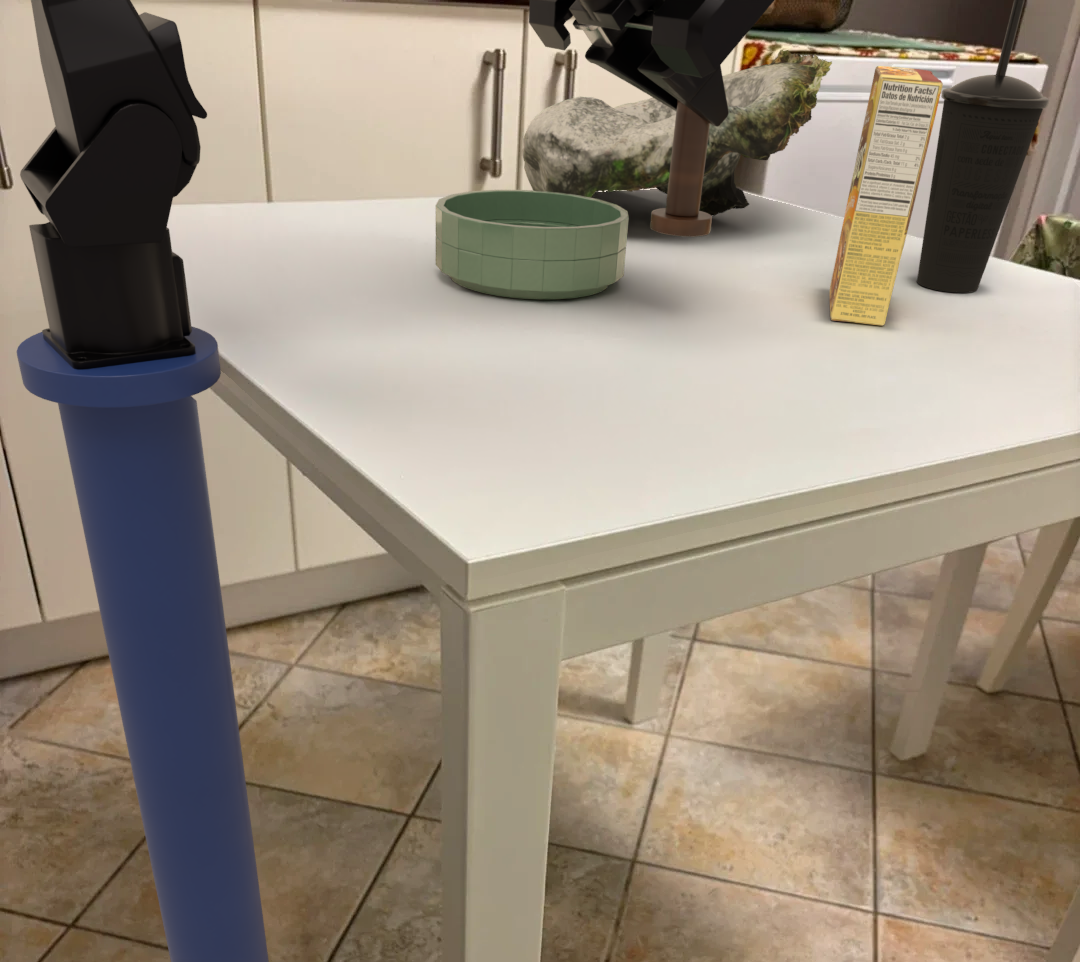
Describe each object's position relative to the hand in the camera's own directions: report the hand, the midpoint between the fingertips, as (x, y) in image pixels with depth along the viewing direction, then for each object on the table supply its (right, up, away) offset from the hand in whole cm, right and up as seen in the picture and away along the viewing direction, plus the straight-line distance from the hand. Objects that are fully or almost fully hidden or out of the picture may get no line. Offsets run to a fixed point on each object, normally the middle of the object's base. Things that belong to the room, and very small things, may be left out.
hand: (710, 117), depth 70 cm
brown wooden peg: (-2, -6, +3) cm, 7 cm away
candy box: (+13, -8, +12) cm, 19 cm away
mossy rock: (+1, +11, +38) cm, 39 cm away
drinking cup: (+22, -3, +20) cm, 30 cm away
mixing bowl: (-12, -4, +15) cm, 19 cm away
